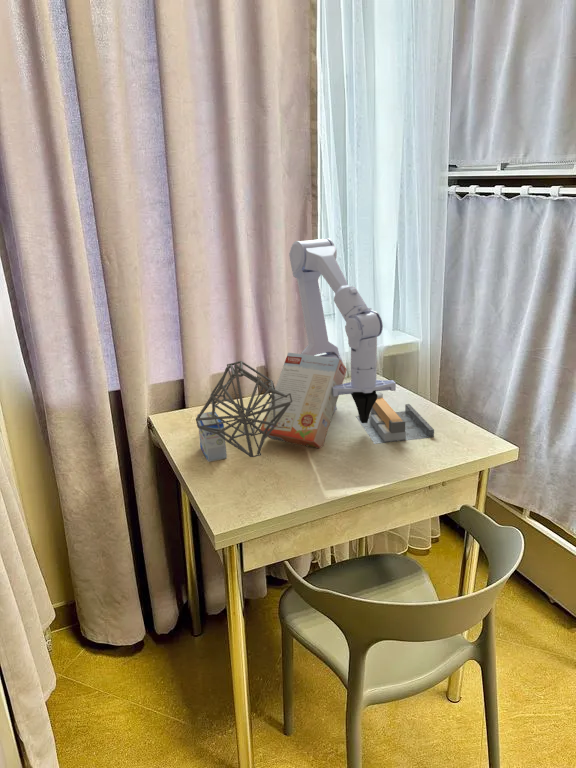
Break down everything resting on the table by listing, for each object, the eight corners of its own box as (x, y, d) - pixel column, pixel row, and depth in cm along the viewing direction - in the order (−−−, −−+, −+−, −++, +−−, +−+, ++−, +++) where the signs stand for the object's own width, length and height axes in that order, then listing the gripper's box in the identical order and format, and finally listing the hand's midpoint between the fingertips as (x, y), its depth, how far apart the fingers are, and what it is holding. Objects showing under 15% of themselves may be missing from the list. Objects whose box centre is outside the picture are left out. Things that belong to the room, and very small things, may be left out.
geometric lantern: (253, 430, 142) (258, 469, 108) (200, 399, 140) (188, 429, 106) (284, 379, 141) (300, 402, 107) (232, 347, 139) (230, 360, 105)
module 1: (376, 430, 130) (376, 422, 129) (370, 422, 134) (370, 414, 134) (396, 428, 130) (397, 420, 130) (390, 420, 135) (390, 412, 134)
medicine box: (200, 448, 128) (196, 413, 125) (218, 444, 129) (215, 410, 126) (207, 462, 121) (203, 426, 118) (227, 458, 122) (224, 422, 119)
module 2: (384, 441, 124) (384, 433, 123) (377, 432, 129) (377, 424, 128) (405, 439, 125) (405, 430, 124) (398, 430, 129) (398, 422, 129)
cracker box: (322, 451, 124) (348, 369, 130) (312, 442, 119) (340, 357, 125) (269, 439, 131) (297, 361, 137) (258, 430, 126) (287, 350, 132)
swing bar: (368, 403, 138) (368, 392, 137) (380, 402, 139) (380, 391, 138) (391, 433, 122) (391, 421, 120) (405, 431, 122) (405, 419, 121)
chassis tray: (374, 447, 124) (374, 433, 122) (354, 418, 140) (354, 405, 139) (433, 441, 125) (434, 427, 124) (407, 412, 141) (407, 400, 140)
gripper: (336, 374, 119) (337, 431, 123) (400, 368, 120) (399, 424, 125) (329, 364, 125) (330, 419, 130) (390, 359, 127) (389, 413, 132)
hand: (363, 421), depth 128 cm, fingers closed
